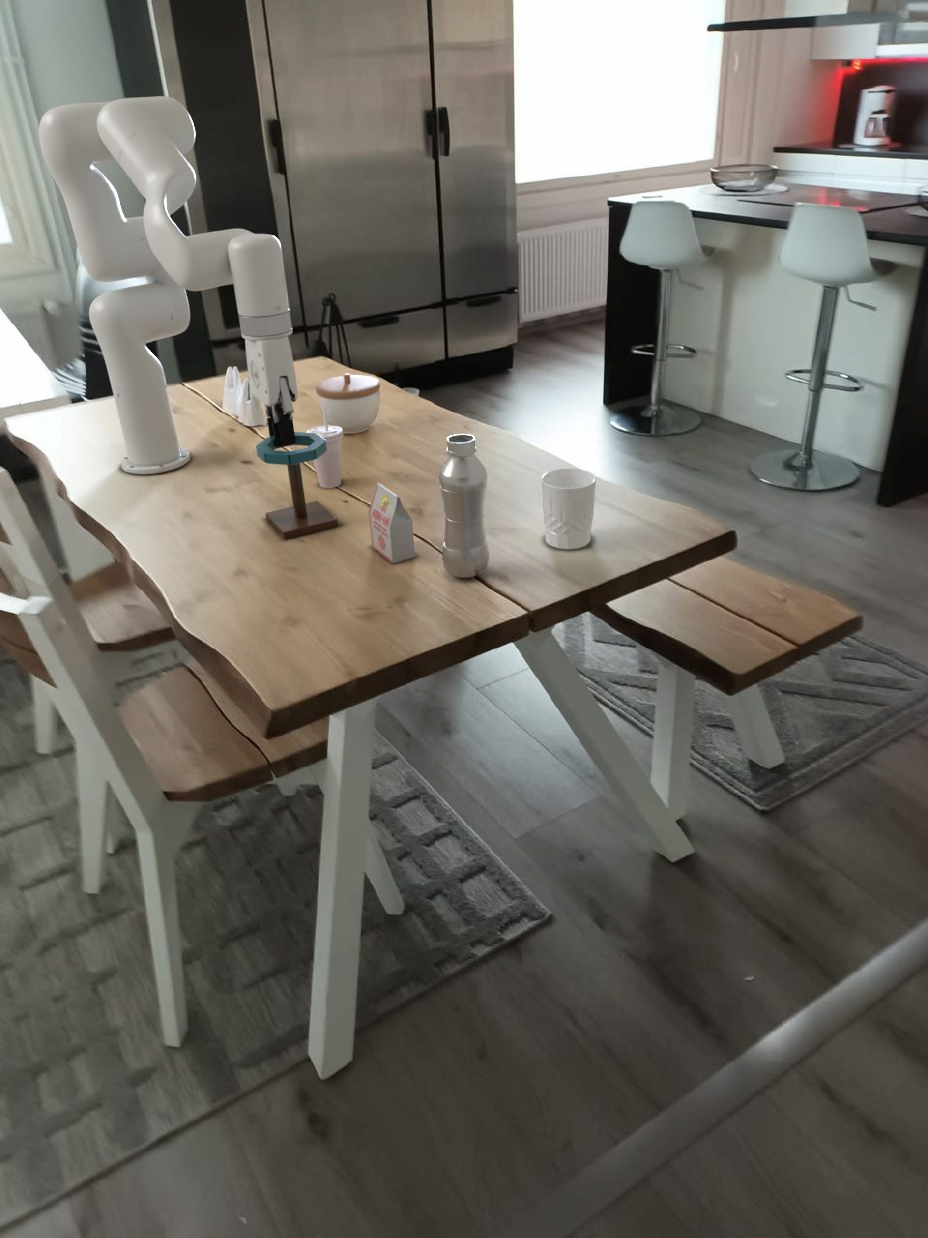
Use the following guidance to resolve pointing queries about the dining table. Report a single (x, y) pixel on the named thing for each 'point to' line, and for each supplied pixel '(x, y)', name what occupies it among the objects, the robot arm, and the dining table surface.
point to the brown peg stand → (300, 511)
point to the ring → (292, 457)
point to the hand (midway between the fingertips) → (283, 442)
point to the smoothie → (329, 454)
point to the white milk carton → (390, 526)
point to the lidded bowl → (350, 401)
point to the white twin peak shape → (241, 400)
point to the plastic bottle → (464, 508)
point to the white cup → (568, 507)
